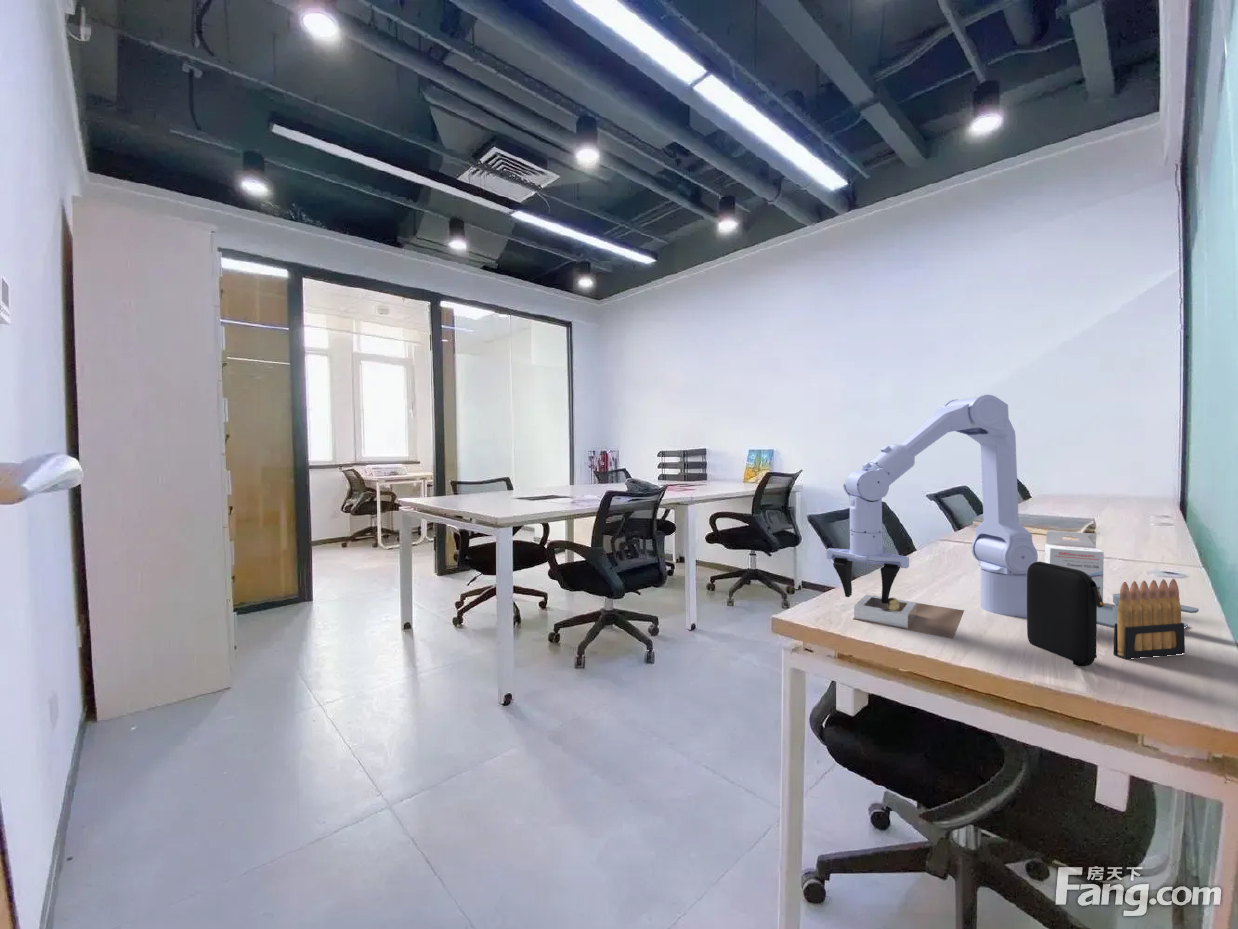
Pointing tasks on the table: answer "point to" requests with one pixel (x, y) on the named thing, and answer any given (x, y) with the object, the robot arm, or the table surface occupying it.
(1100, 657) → the table surface
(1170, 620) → the ammunition clip
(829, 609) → the table surface
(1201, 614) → the table surface
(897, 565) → the robot arm
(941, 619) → the board
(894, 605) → the keeper post
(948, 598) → the table surface
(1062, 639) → the carrying case or bag
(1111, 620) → the shower valve
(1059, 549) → the ink cartridge box
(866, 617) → the steel link
